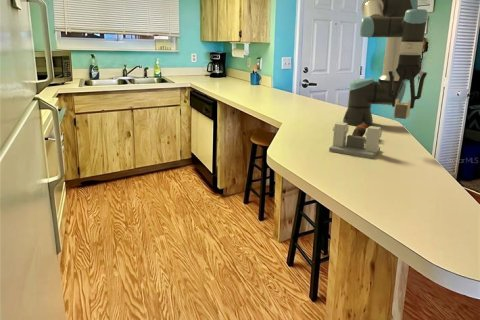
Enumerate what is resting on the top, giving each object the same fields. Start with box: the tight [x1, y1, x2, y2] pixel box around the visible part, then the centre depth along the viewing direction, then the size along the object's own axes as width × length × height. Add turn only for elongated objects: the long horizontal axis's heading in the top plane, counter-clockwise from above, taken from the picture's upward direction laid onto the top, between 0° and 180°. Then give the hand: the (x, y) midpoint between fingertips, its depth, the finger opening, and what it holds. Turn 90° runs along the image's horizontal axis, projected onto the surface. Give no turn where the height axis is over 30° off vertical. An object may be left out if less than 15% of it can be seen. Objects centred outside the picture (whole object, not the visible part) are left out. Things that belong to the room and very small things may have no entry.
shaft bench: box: [328, 121, 383, 159], centre depth 146 cm, size 12×18×10 cm, turn 57°
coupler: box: [393, 102, 408, 120], centre depth 143 cm, size 4×6×5 cm
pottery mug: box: [351, 123, 371, 137], centre depth 164 cm, size 12×10×8 cm
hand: (401, 115), depth 144 cm, fingers closed on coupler, 4 cm apart
